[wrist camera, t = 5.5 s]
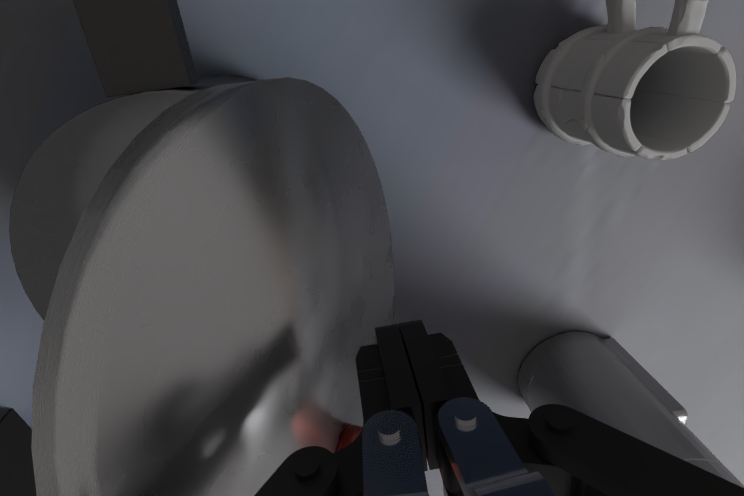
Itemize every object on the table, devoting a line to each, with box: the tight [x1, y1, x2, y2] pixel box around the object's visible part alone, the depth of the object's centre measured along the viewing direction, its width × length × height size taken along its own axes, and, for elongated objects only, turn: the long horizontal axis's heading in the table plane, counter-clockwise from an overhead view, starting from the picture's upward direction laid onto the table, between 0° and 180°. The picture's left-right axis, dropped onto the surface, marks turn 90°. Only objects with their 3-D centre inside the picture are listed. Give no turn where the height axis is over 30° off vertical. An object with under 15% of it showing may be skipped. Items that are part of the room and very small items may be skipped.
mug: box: [534, 0, 736, 160], centre depth 27 cm, size 8×12×12 cm, turn 1°
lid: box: [31, 77, 394, 496], centre depth 14 cm, size 20×17×4 cm
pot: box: [9, 0, 257, 320], centre depth 28 cm, size 17×25×12 cm
